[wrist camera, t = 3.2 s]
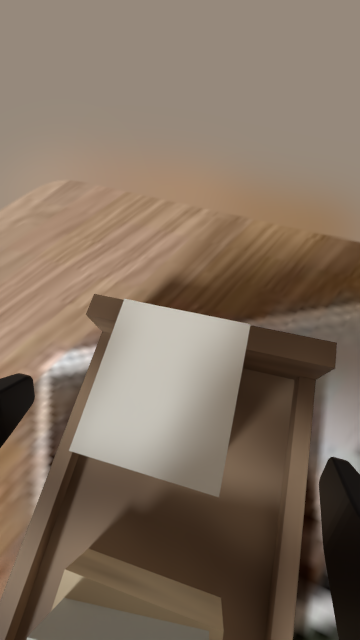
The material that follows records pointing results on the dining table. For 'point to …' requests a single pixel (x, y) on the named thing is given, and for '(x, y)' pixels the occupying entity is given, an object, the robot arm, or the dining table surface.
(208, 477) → the tall board
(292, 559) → the walnut tray
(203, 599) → the pine offcut
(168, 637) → the grey offcut
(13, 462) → the dining table surface
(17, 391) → the robot arm
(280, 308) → the dining table surface
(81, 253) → the dining table surface
